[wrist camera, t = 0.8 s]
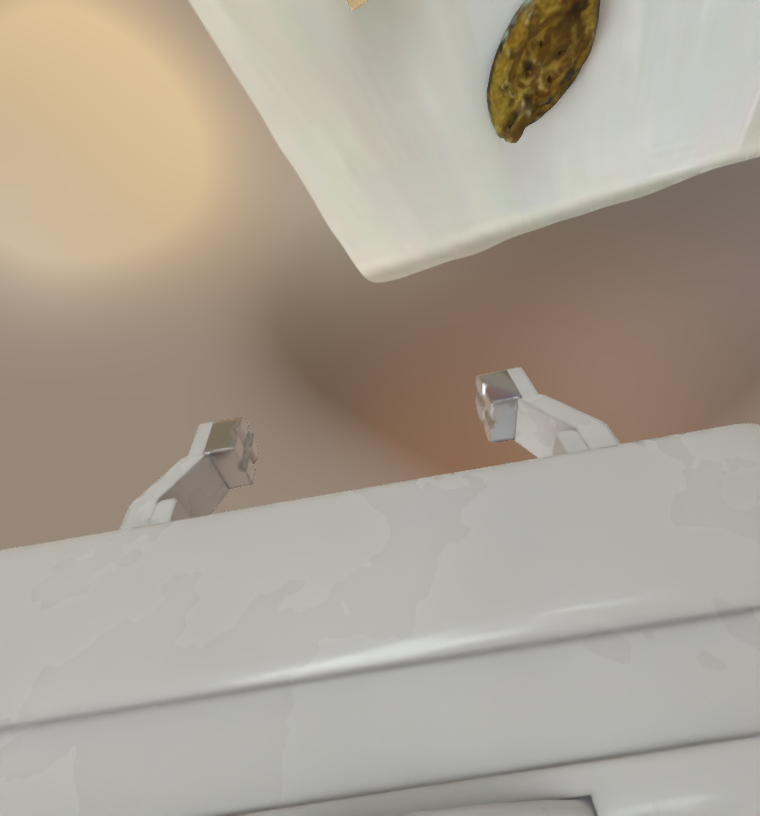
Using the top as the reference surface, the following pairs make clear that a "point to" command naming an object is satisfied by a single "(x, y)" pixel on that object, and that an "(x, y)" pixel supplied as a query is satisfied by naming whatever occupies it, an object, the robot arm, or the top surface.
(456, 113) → the top surface
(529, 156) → the top surface
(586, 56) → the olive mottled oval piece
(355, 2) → the tile
